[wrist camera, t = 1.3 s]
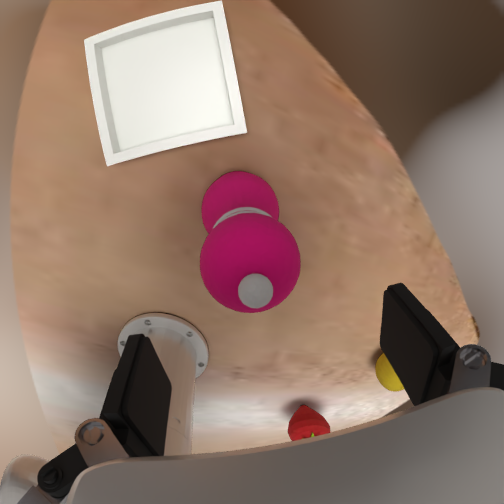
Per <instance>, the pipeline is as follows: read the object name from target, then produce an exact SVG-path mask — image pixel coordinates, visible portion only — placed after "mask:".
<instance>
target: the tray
mask: <svg viewBox="0 0 504 504" xmlns="http://www.w3.org/2000/svg"><path fill="white" fill-rule="evenodd" d="M84 43H85V51H86V59H87V67H88V73H89V80H90V86H91V92H92V98H93V104H94V109H95V114H96V119H97V124H98V129H99V134H100V138H101V143H102V147H103V152H104V156H105V160H106V164H107V166H110V165H113V164H116V163H120V162H123V161H127V160H130V159H134V158H137V157H141V156H144V155H148V154H152V153H156V152H160V151H164V150H168V149H172V148H176V147H180V146H184V145H189V144H193V143H197V142H202V141H207V140H212V139H216V138H221V137H226V136H232V135H237V134H243V133H247V129H246V124H245V119H244V113H243V108H242V102H241V97H240V92H239V86H238V81H237V76H236V70H235V65H234V60H233V55H232V50H231V44H230V39H229V34H228V29H227V24H226V19H225V14H224V9H223V4H222V1H217V2H211V3H205V4H200V5H195V6H190V7H186V8H181V9H177V10H173V11H169V12H165V13H161V14H157V15H154V16H150V17H147V18H143V19H140V20H137V21H133V22H130V23H127V24H124V25H121V26H118V27H116V28H113V29H110V30H107V31H105V32H102V33H99V34H97V35H94V36H92V37H89V38H87V39H85V40H84Z"/></svg>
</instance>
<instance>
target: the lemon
mask: <svg viewBox="0 0 504 504" xmlns="http://www.w3.org/2000/svg"><path fill="white" fill-rule="evenodd" d="M375 370H376V376H377V378H378V380H379V381H380V383H381V384H382V385H383V386H384V387H385V388H386V389H388V390H390V391H401V390H403V389H404V387H403V385H402V383H401V382H400V380H399V378H398V376H397V375H396V373H395V371H394V369H393V368H392V366H391V364H390V363H389V361H388V359H387V357H386V356H385V354H384V353H383V354H382V355H381V356H380V357H379V358H378V360H377V362H376V366H375Z"/></svg>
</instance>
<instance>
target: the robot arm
mask: <svg viewBox="0 0 504 504" xmlns="http://www.w3.org/2000/svg"><path fill="white" fill-rule="evenodd" d="M380 346H381V349H382V351H383V352H384V354H385V356H386V357H387V359H388V361H389V363H390V364H391V366H392V368H393V369H394V371H395V373H396V375H397V376H398V378H399V380H400V382H401V383H402V385H403V387H404V389H405V390H406V392H407V394H408V396H409V398H410V399H411V401H412V403H413V404H414V407H411V408H409V409H406V410H403V411H400V412H397V413H394V414H391V415H388V416H386V417H383V418H379V419H376V420H373V421H370V422H367V423H364V424H360V425H357V426H353V427H350V428H346V429H342V430H339V431H335V432H331V433H327V434H323V435H319V436H314V437H310V438H306V439H301V440H296V441H291V442H286V443H281V444H275V445H269V446H263V447H256V448H250V449H242V450H234V451H226V452H216V453H205V454H191V450H192V448H191V447H192V424H193V405H194V389H195V379H196V378H197V377H199V376H200V375H201V374H202V373H203V371H204V370H205V368H206V366H207V363H208V346H207V343H206V341H205V339H204V337H203V336H202V334H201V333H200V332H199V331H198V330H197V329H196V328H195V327H194V326H193V325H191V324H190V323H188V322H187V321H185V320H183V319H181V318H178V317H176V316H173V315H169V314H164V313H148V314H143V315H140V316H137V317H135V318H133V319H131V320H130V321H129V322H127V323H126V324H125V325H124V327H123V328H122V330H121V332H120V335H119V338H118V351H119V355H120V357H121V358H120V361H119V364H118V367H117V369H116V370H115V372H114V374H113V377H112V380H111V383H110V386H109V389H108V392H107V395H106V398H105V401H104V405H103V408H102V411H101V414H100V418H92V419H88V420H86V421H84V422H83V423H81V424H80V425H79V427H78V428H77V430H76V432H75V442H76V444H74V445H73V446H71V447H70V448H69V449H67V450H66V451H64V452H63V453H61V454H60V455H58V456H57V457H55V458H54V459H52V460H51V461H49V460H46V459H44V458H41V457H39V456H35V455H30V454H24V455H20V456H17V457H15V458H14V459H13V460H12V461H11V462H10V463H9V464H8V466H7V467H6V469H5V471H4V474H3V477H2V481H1V485H0V504H504V365H502V364H499V363H494V362H491V357H490V354H489V353H488V352H487V350H486V349H485V348H483V347H481V346H479V345H475V344H469V345H465V346H463V347H461V348H460V347H459V346H458V344H457V343H456V342H455V341H454V340H453V338H452V337H451V336H450V335H449V334H448V333H447V331H446V330H445V329H444V328H443V327H442V326H441V324H440V323H439V322H438V321H437V320H436V319H435V317H434V316H433V315H432V314H431V313H430V312H429V311H428V310H427V309H426V308H425V307H424V306H423V305H422V304H421V303H420V302H419V301H418V299H417V298H416V297H415V296H414V295H413V294H412V293H411V292H410V291H409V290H408V289H407V287H406V286H405V285H404V284H403V283H398V284H394V285H390V286H388V288H387V290H385V291H384V297H383V311H382V324H381V335H380Z"/></svg>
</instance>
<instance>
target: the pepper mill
mask: <svg viewBox="0 0 504 504" xmlns="http://www.w3.org/2000/svg"><path fill="white" fill-rule="evenodd" d="M278 217H279V206H278V201H277V198H276V196H275V193H274V191H273V190H272V188H271V187H270V185H269V184H268V183H267V182H266V181H264V180H263V179H262V178H260V177H258V176H256V175H253V174H250V173H247V172H243V171H233V172H229V173H226V174H224V175H223V176H221V177H220V178H219V179H217V180H216V181H215V182H214V183H213V184H212V185H211V186H210V187H209V189H208V190H207V192H206V194H205V196H204V198H203V202H202V219H203V224H204V226H205V228H206V231H207V232H208V233H209V235H208V236H207V238H206V240H205V242H204V244H203V247H202V250H201V255H200V271H201V276H202V279H203V282H204V284H205V286H206V288H207V289H208V291H209V293H210V294H211V295H212V296H213V297H214V298H215V299H216V300H217V301H218V302H219V303H221V304H222V305H224V306H225V307H227V308H230V309H233V310H235V311H239V312H244V313H255V312H262V311H265V310H268V309H270V308H272V307H274V306H276V305H278V304H279V303H281V302H282V301H283V300H284V299H285V298H286V297H287V296H288V295H289V294H290V293H291V291H292V290H293V288H294V286H295V285H296V282H297V280H298V277H299V273H300V253H299V250H298V246H297V243H296V241H295V239H294V237H293V236H292V234H291V233H290V231H289V230H288V229H287V228H286V227H285V226H284V225H283V224H282V223H280V222H278Z"/></svg>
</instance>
